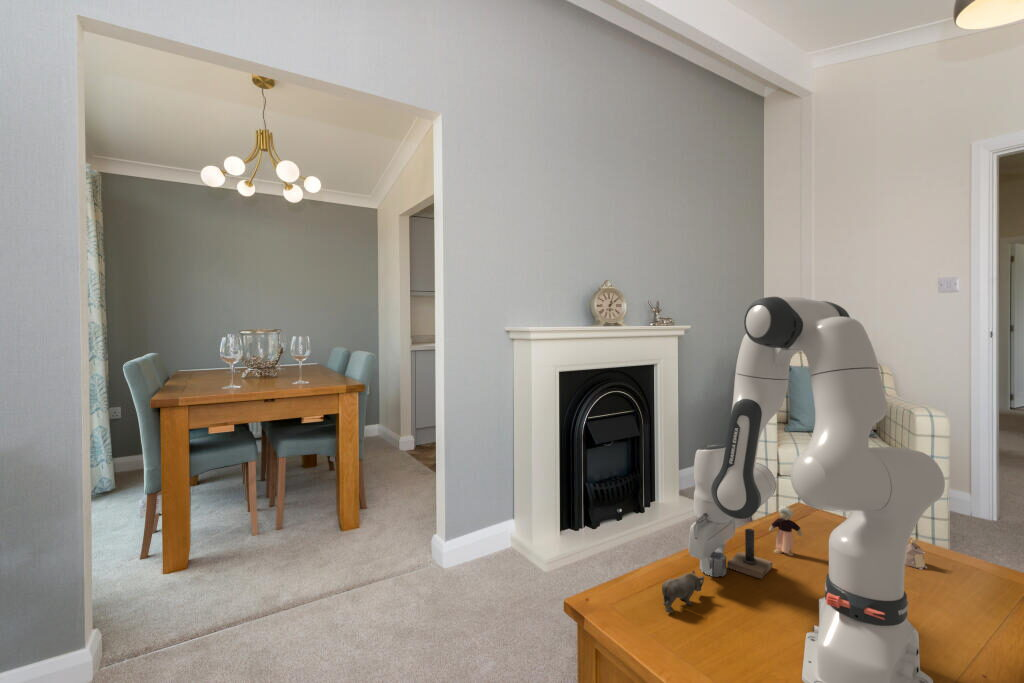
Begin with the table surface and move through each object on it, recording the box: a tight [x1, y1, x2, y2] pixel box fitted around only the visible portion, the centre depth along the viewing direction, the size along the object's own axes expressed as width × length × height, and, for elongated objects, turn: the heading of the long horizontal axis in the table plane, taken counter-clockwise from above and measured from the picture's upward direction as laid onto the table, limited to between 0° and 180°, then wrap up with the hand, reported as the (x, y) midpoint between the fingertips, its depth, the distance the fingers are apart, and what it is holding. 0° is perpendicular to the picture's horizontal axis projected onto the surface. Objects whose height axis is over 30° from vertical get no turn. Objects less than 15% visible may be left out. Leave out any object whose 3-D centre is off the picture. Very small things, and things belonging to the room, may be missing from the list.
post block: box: [726, 528, 773, 580], centre depth 122 cm, size 8×8×10 cm
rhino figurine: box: [661, 570, 705, 614], centre depth 107 cm, size 4×14×6 cm, turn 122°
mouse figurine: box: [905, 538, 928, 571], centre depth 124 cm, size 5×8×7 cm, turn 22°
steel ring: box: [699, 551, 727, 578], centre depth 120 cm, size 6×6×4 cm
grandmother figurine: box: [768, 505, 803, 557], centre depth 129 cm, size 8×4×13 cm, turn 73°
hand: (713, 563), depth 120 cm, fingers closed on steel ring, 6 cm apart
